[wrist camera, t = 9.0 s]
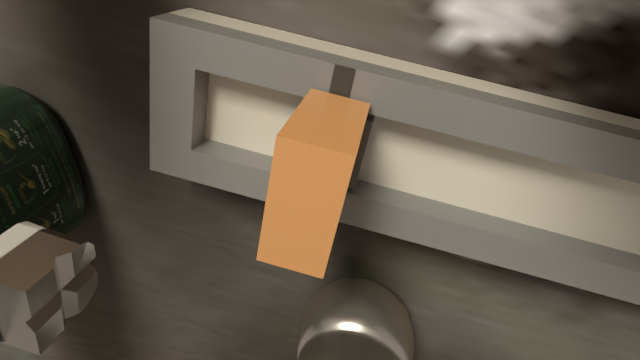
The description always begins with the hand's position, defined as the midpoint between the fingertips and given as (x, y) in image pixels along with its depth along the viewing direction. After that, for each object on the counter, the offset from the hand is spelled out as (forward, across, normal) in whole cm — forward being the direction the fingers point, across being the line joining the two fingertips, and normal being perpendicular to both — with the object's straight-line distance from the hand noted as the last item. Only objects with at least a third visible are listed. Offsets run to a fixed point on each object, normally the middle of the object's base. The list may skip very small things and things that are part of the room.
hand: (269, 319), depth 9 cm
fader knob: (+11, +1, +1) cm, 11 cm away
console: (+14, -5, +1) cm, 15 cm away
